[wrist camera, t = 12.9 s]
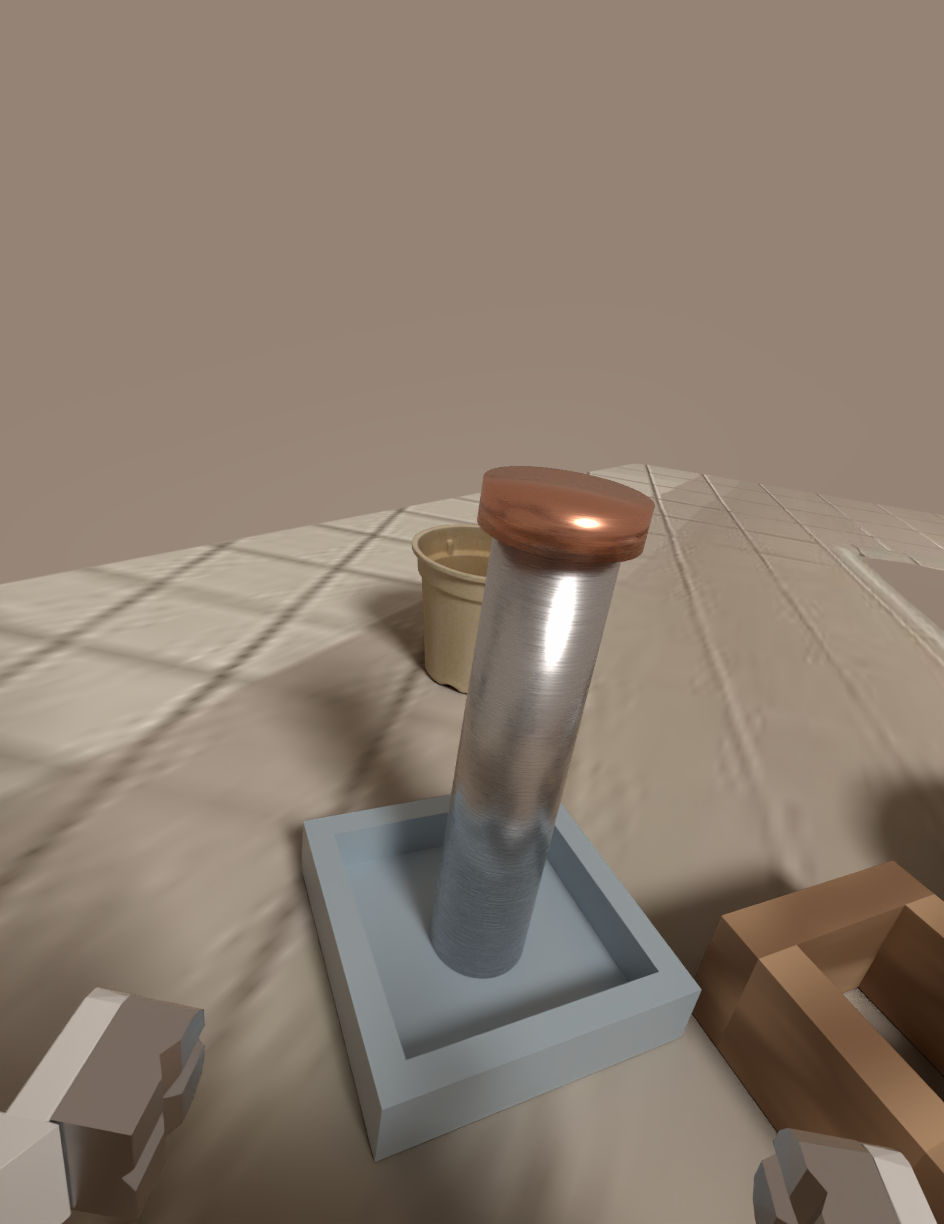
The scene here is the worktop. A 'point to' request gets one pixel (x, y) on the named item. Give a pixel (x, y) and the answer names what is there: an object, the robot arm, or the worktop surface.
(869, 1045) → the socket block
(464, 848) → the pin
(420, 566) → the flower pot
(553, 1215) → the worktop surface
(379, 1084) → the tray
